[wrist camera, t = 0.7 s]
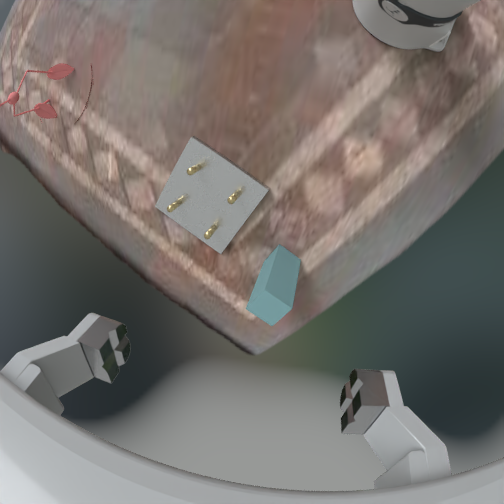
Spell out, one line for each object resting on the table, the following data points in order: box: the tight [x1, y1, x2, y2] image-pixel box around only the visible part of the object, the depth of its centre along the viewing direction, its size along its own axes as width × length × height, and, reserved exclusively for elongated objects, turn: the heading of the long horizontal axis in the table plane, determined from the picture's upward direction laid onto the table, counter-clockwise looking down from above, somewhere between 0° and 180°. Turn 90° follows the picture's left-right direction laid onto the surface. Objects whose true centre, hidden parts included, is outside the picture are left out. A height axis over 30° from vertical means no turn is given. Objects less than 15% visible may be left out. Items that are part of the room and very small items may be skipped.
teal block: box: [246, 244, 301, 326], centre depth 47 cm, size 5×5×14 cm
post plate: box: [155, 136, 270, 254], centre depth 48 cm, size 16×16×5 cm
